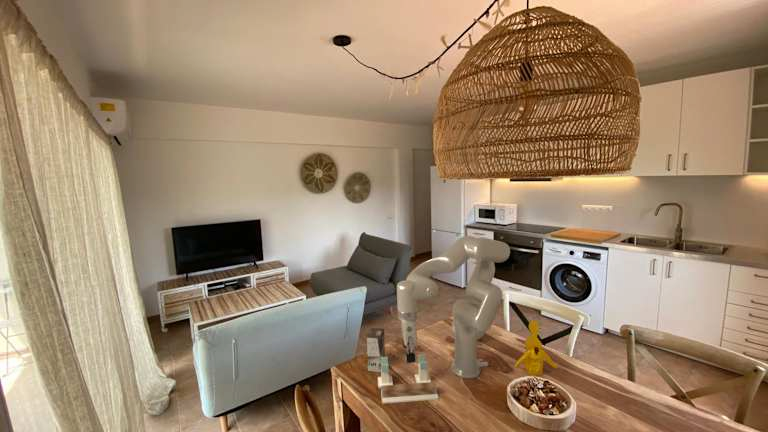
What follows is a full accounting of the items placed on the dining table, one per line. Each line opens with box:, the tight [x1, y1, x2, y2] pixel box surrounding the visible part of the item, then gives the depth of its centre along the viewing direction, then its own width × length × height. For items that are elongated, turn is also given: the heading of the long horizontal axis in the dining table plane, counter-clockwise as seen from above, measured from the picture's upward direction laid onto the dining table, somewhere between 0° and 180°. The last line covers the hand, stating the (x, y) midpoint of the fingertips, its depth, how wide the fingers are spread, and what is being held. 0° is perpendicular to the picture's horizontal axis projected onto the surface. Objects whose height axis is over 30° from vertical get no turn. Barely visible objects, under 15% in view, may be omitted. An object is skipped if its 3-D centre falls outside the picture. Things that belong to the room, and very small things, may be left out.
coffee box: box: [366, 327, 386, 373], centre depth 141 cm, size 9×6×16 cm
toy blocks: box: [414, 354, 432, 383], centre depth 131 cm, size 6×6×10 cm
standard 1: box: [377, 356, 394, 389], centre depth 130 cm, size 6×6×10 cm
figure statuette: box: [514, 319, 559, 376], centre depth 134 cm, size 18×8×22 cm, turn 84°
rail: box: [381, 381, 438, 399], centre depth 123 cm, size 22×3×3 cm, turn 93°
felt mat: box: [380, 388, 440, 404], centre depth 123 cm, size 22×7×1 cm, turn 93°
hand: (409, 354), depth 121 cm, fingers open, 9 cm apart
